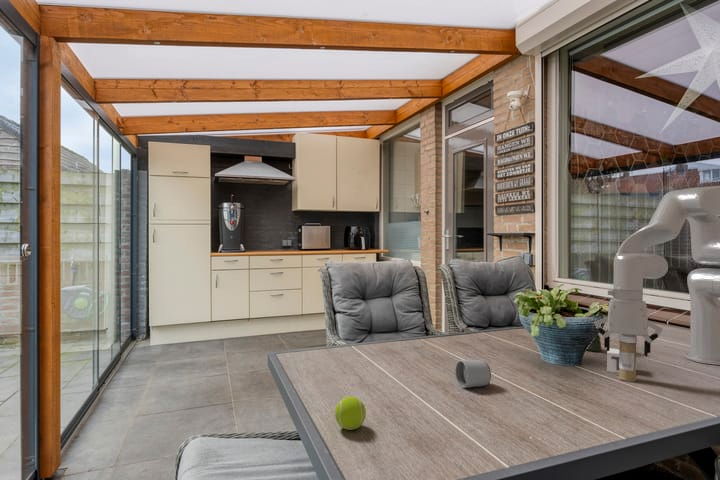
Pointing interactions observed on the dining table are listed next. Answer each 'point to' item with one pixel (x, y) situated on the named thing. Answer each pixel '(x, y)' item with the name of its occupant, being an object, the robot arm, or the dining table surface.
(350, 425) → the tennis ball
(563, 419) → the dining table surface
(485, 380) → the ceramic mug
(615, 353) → the lettered cube
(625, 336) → the sprinkles bottle
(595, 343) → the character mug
